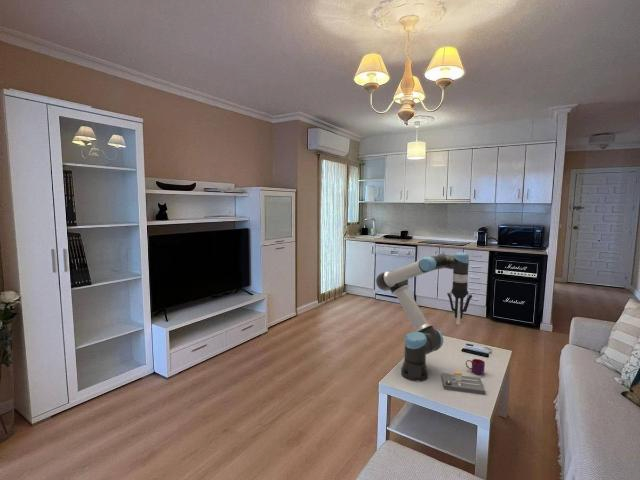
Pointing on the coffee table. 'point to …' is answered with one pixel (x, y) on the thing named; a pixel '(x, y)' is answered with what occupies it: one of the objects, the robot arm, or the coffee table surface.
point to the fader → (458, 376)
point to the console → (463, 384)
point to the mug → (477, 366)
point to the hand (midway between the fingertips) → (458, 323)
